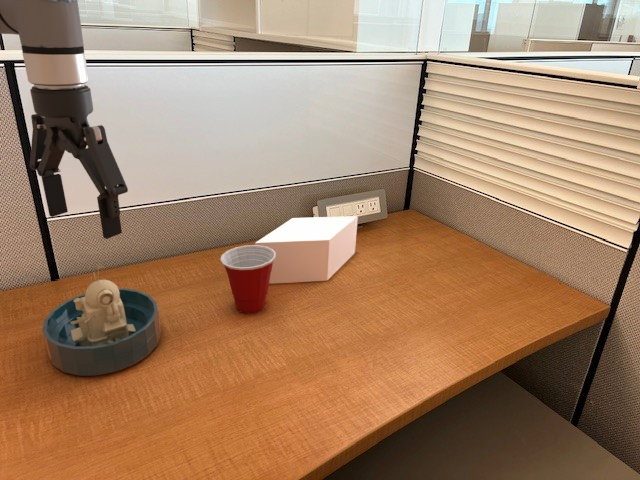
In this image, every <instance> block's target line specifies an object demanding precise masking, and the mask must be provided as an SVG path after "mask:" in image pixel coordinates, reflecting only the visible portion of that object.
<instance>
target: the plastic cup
mask: <svg viewBox="0 0 640 480" xmlns="http://www.w3.org/2000/svg"><path fill="white" fill-rule="evenodd" d="M275 257H276V252H275V251H274V250H273V249H271V248H269V247H266V246H260V245H255V244H247V245H240V246H236V247H232V248H231V249H228V250H225V252H224V253H223V254H221V256H220V263H222V265H223V266H224V269H225V272H226V274H227V278H228V282H229V285H230V290H231V294H232V296H233V299H234V300H233V301H234V304H235V306H236V307H235V308H236V309H237V311H238V312H239V313H242V314H245V315H253V314H258V313H260V312H261V311H263V310H264V309H265V307H266V302H267V297H268V293H269V287H270V284H269V280H270V274H271V271H272V266H273V261H274V260H275Z"/></svg>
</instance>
